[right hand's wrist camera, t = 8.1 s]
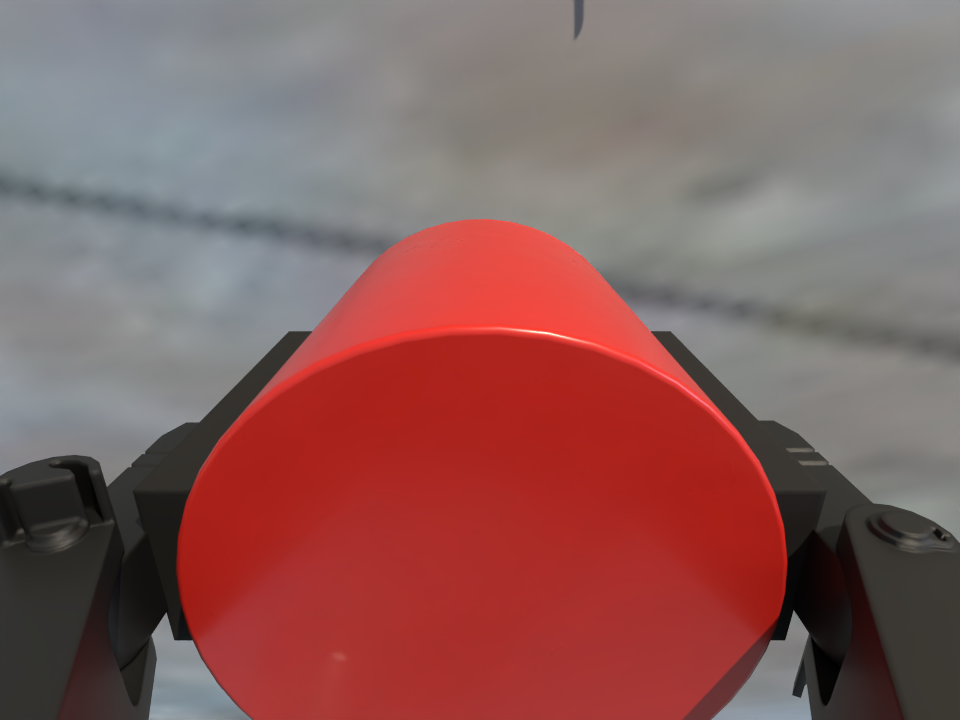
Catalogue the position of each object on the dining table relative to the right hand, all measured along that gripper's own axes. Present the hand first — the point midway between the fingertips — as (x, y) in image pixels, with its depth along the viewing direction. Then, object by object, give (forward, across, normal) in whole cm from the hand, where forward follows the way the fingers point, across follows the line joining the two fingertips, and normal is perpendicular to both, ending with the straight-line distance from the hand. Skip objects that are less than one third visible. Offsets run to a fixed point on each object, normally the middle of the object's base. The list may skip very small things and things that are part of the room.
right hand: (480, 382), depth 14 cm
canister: (+1, 0, 0) cm, 1 cm away
